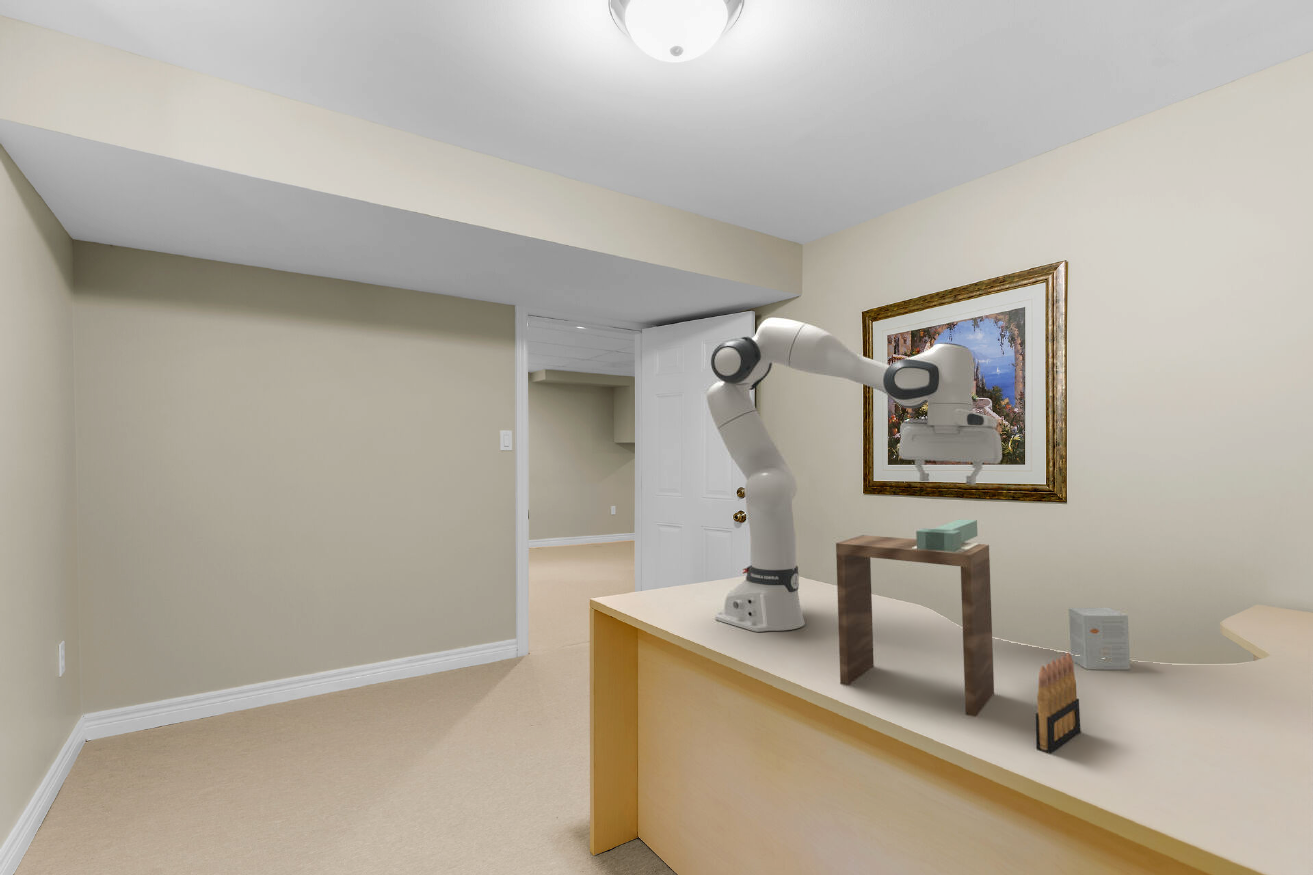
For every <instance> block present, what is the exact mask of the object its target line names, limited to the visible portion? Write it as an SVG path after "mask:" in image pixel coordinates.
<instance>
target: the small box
mask: <svg viewBox="0 0 1313 875" xmlns="http://www.w3.org/2000/svg"><path fill="white" fill-rule="evenodd" d="M1068 618H1069V619H1068V621H1069V641H1070V642H1069V644H1070V646H1069V648H1070V655H1071V654H1073V655H1071V657H1072V660H1073V663H1076V664H1078V665H1079V666H1080V667H1082V668H1084V669H1086V670H1097V671H1098V670H1099V671H1102V670H1105V671H1107V670H1108V671H1109V670H1111V671H1113V670H1116V671H1117V670H1120V671H1121V670H1123V671H1124V670H1125V671H1126V670H1128V671H1129V670H1130V669H1131V659H1130V658H1131V656H1130V637H1129V634H1130V633H1129V632H1130V631H1129V615H1127V614H1126V613H1123V612H1121V611H1118V610H1116V609H1114V608H1112V607H1071V608H1070V607H1069V608H1068ZM1075 655H1080V656H1075ZM1102 658H1105V659H1102Z"/></svg>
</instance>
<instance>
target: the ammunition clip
mask: <svg viewBox="0 0 1313 875" xmlns="http://www.w3.org/2000/svg"><path fill="white" fill-rule="evenodd" d="M1077 694H1078V693H1077V681H1076V677H1075V669H1074V661H1073V660H1072V657H1071V652H1067V653H1066V655H1065V654H1063V655H1062V656H1061V657H1057V658H1056V660H1055V659H1054V660H1053V659H1052V661H1051V663H1049V662H1047V663H1046V665H1045V666H1044V665H1041V667H1040V669H1039V674H1038V691H1037V697H1036V698H1037V711H1036V713H1035V738H1036V739H1035V742H1036V743H1035V744H1036V746H1035V747H1036V750H1038V751H1042V752H1044V753H1048V754H1053V753H1054V752H1055V751H1057V750H1059V749H1060V748H1062V746H1064V745H1065V744H1067V743H1068V742H1070V741H1071V740H1073V739H1074V738H1075V737H1077V736H1078V735H1079V734H1080V733H1082V731H1081V714H1080V710H1081V709H1080V699H1079V698H1077V696H1078V695H1077Z"/></svg>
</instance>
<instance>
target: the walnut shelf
mask: <svg viewBox="0 0 1313 875" xmlns="http://www.w3.org/2000/svg"><path fill="white" fill-rule="evenodd" d="M835 549H836V550H835V552H836V553H835V554H836V558H835V559H836V580H837V581H836V585H837V615H838V616H837V617H838V618H837V619H838V620H837V621H838V648H839V650H838V654H839V678H840V679H839V681H840V682H839V683H840V684H841V685H845V686H849V685H851V684H852V683H854V682H855V681H857V679H859V678H861V677H862V676H863V675H865V674H866V673H868V672H869V671H870V670H872V669H873V668H875V666H874V664H875V663H874V658H875V657H874V637H873V636H874V630H873V604H872V602H873V601H872V600H873V599H872V573H871V572H872V571H871V570H872V569H871V558H873V559H883V560H892V561H903V562H911V563H912V562H913V563H923V564H932V565H933V564H934V565H942V566H943V565H944V566H951V567H952V566H953V567H960V585H961V586H960V587H961V588H960V589H961V590H960V591H961V592H960V593H961V613H962V614H961V616H962V618H961V619H962V645H963V646H962V647H963V670H964V671H963V673H964V706H965V707H964V708H965V715H966V716H970V717H975V718H976V717H977V716H978V715H979V713H980V712H981V711H982V710H983V708H984V707H985V706H986V704H987V703H988V702H989V701H990V699H991V698H992V696H994V694H995V683H994V682H995V679H994V654H993V653H994V652H993V646H994V645H993V624H992V623H993V619H992V616H993V615H992V594H991V591H992V590H991V563H990V561H991V560H990V559H991V558H990V544H981V543H977V542H967V541H965V542H963V543H961V549H959V550H957V551H955V552H951V551H939V550H928V549H917V538H903V537H893V536H892V537H890V536H880V535H879V536H878V535H865V534H863V535H858V536H856V537H852V538H849V539H845V540H842V541H839V542H836V543H835Z"/></svg>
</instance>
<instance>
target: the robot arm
mask: <svg viewBox="0 0 1313 875" xmlns="http://www.w3.org/2000/svg"><path fill="white" fill-rule="evenodd" d="M974 362H975V361H974V355H973V353H972V352H971V350H970V349H969V348H968V347H966V346H964V345H961V344H957V343H952V342H949V343H948V342H939V343H936V344H934V345H933V346H932V347H930V348H929V349H927V350H925V351H923V352H920V353H919V354H916V355H913V356H910V357H906V358H902V359H899V360H898V359H897V360H896V361H894V362H892V363H891V364H890V365H889V364H887V363H883V362H881V361H878V360H875V359H871V358H869V357H867V356H866V357H865V356H863V355H861V354H858V353H857V352H855V351H853V350H852V349H851V348H849V347H848V346H847V345H845V344H844V343H843V342H842V341H840V339H839V338H837V337H836V336H834V335H833V334H831V333H830V332H828V331H826V330H825V329H822V328H820V327H818V326H815V325H812V324H809V323H806V322H803V321H798V320H794V319H789V318H784V317H783V318H782V317H768V318H767V319H765V320H764V321H762V323H760V325H758V328H757V330H756V333H755V335H754V336H753V337H750V336H742V337H737V338H733V339H730V340H726V341H724V342H722V343H720V344H719V345H718V346H716V348H714V350H713V351H712V354H711V357H710V365H711V369H712V372H713V373H714V375H715V376H716V377H717V379H719V380H718V381H717V382H715V383H714V384H713V385H711V387H710V388H709V389H708V391H707V394H706V400H707V401H706V402H707V405H708V408H709V411H710V414H711V417H712V420H713V422H714V425H715V427H716V429H717V430H718V433H719V435H720V437H721V439H722V442H723V443H724V445H725V447H726V449H727V451H728V453H729V456H730V457H731V458H732V460H733V461H734V462H735V463H736V465H737V467H738V468H739V469H740V471H741V473H742V474H743V476H744V478H745V479H746V483H745V486H744V497H745V503H746V512H747V520H748V525H749V531H750V550H751V551H750V553H751V555H750V557H751V560H750V561H751V564H750V565H749V566H747V567H746V568H743V569H742V571H743V572H742V574H746V576H745V580H744V581H742V582H741V583H739V584H738V585H737V586H736V587H735V588H733V589H732V590H730V592H728V593H727V594H726V597H725V602H724V609H722V610H720V611H718V612H717V613H716V614H715V620H716V621H719V622H722V623H726V624H729V625H732V626H736V627H740V628H742V629H746V630H749V631H752V632H756V633H758V632H761V633H762V632H768V631H770V632H772V631H775V632H776V631H790V630H796V629H799V628H802V627H804V626H805V624H806V622H805V620H804V616H803V613H802V612H803V611H802V607H801V601H800V596H799V587H800V586H799V585H800V582H799V580H800V577H799V566H798V565H797V544H796V543H797V542H796V540H797V538H796V530H795V524H794V516H793V514H794V513H793V505H792V504H793V503H792V501H793V500H794V499H795V497H796V494H797V490H798V488H797V485H798V484H797V481H796V479H795V477H794V475H793V473H792V471H791V470H790V468H789V466H788V464H787V463H786V461H785V459H784V458H783V456H782V454H781V453H780V452H781V451H779V449H778V447H777V446H776V445H775V443H774V441H773V439H772V437H771V436H770V434H769V432H768V430H767V428H766V425H765V424H764V422H763V419H762V418H761V415H760V414H759V412H758V410H757V408H756V407H755V405H754V402H753V401H752V398H751V395H750V391H752V390H755V389H756V387H758V385H759V384H760V383H761V382H762V381H764V379H765V378H767V376H768V375H769V373H770V372H771V369H772V366H773V363H775V364H779V365H783V366H785V367H789V368H791V369H794V370H796V371H801V372H804V373H809V374H814V375H823V376H829V377H830V376H831V377H836V378H843V379H847V380H850V381H853V382H856V383H859V384H860V385H861V384H862V385H865V386H867V387H869V388H872V389H875V390H878V391H880V392H883V393H884V394H886V396H888V397H889V398H890V399H891V400H892V401H893V402H894V403H896V405H898V406H900V407H902V408H905V409H917V408H921V407H923V406H925V405H926V404H927V415H926V416H927V418H907V419H906V420H904V421H903V422H901V424H900V427H899V428H900V429H899V434H900V436H901V437H900V441H899V446H898V456H899V457H900V458H901V460H909V461H910V460H911V461H912V460H913V461H914V466H915V468H916V470H917V471H918V472H919V481H920V482H929V480H930V478H929V477H930V473H926V471H925V469H924V468H923V466H924V465H925V461H935V462H953V463H954V462H958V463H972V466H971V468H974V469H973V471H972V472H971V474H970V475H965V478H966V481H965V484H966V485H974V486H975V485H976V483H977V482H976V481H977V477H978V475H979V474H980V473H981V471H982V469H983V464H999V463H1000V462H1001V460H1002V459H1003V448H1002V447H1003V446H1002V440H1001V439H1002V438H1001V435H1000V433H999V431H998V430H996V429H995V428H996V427H997V425H998V421H997V419H996V418H995V417H993V416H990V415H988V414H984V413H982V412H979V411H974V410H973V409H974V403H973V402H974V401H973V397H972V394H973V389H974V386H975V363H974Z"/></svg>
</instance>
